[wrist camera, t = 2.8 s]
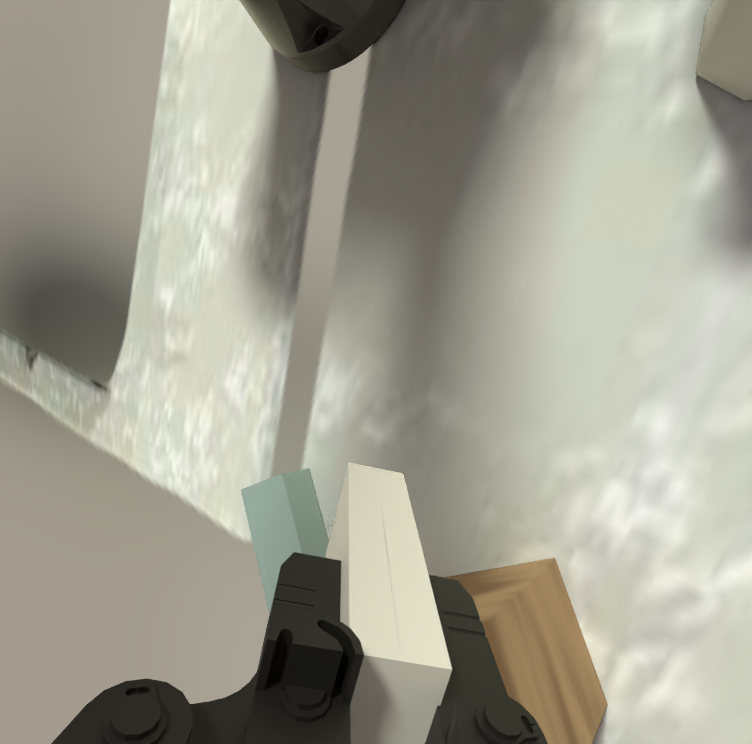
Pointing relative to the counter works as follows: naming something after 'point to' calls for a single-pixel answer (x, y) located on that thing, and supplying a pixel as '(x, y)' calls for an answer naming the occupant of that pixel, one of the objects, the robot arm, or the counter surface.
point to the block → (539, 647)
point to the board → (283, 523)
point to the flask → (728, 47)
